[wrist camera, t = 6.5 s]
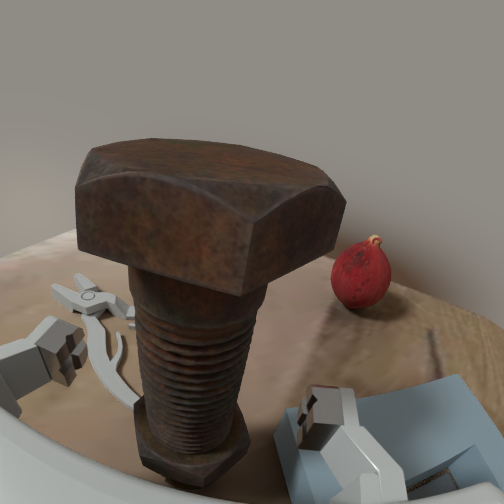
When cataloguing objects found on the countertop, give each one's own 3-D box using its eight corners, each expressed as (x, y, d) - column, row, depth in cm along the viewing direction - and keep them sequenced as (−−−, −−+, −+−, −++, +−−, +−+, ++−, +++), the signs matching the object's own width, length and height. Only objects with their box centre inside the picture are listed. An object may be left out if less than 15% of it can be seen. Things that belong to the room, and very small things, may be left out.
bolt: (135, 428, 14) (109, 134, 8) (220, 420, 16) (271, 146, 9) (151, 519, 9) (45, 186, 3) (251, 505, 11) (401, 208, 4)
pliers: (150, 414, 14) (21, 300, 19) (152, 427, 15) (25, 315, 20) (235, 326, 22) (103, 259, 27) (232, 341, 23) (104, 273, 28)
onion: (348, 332, 26) (379, 253, 22) (310, 297, 30) (332, 223, 26) (385, 317, 28) (414, 247, 25) (348, 288, 33) (371, 222, 29)
